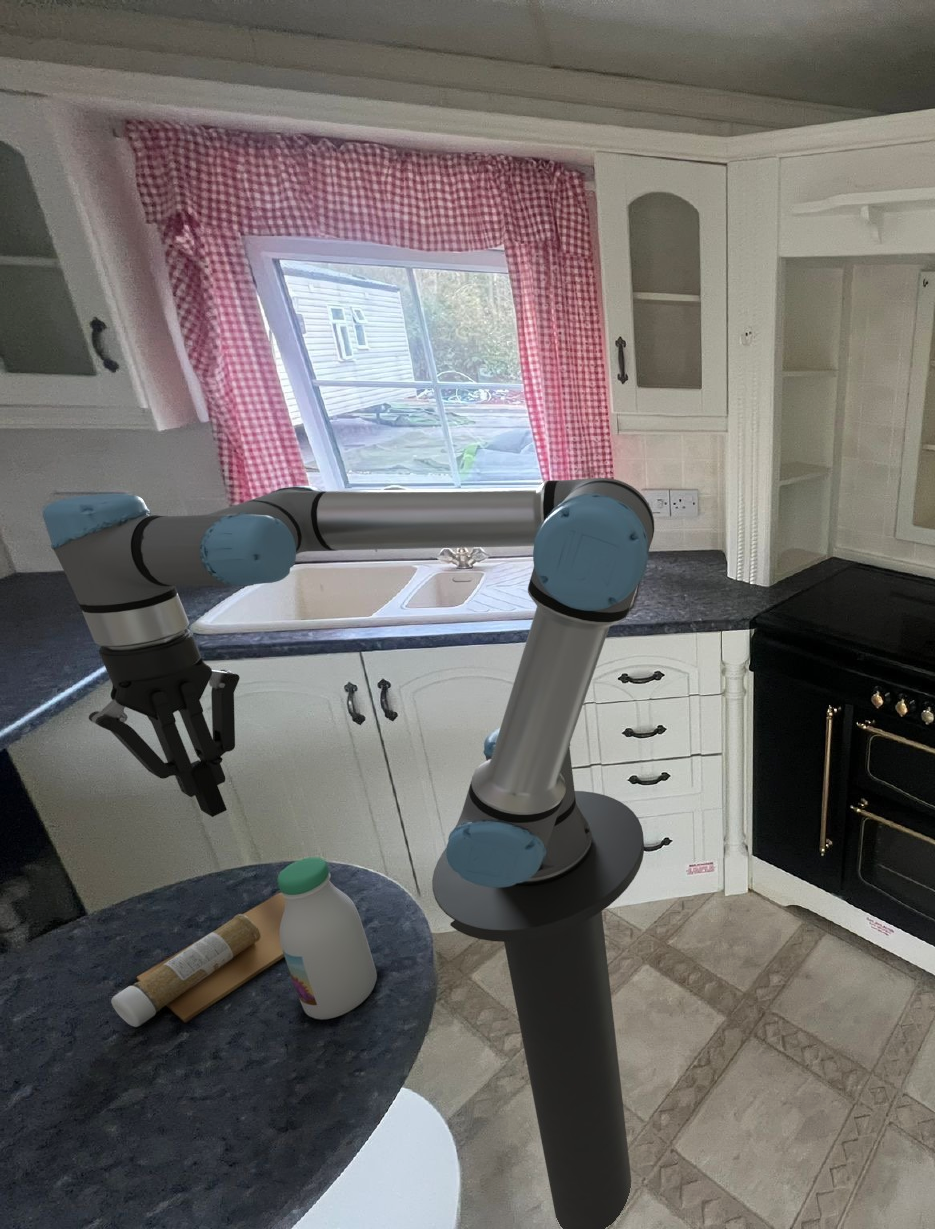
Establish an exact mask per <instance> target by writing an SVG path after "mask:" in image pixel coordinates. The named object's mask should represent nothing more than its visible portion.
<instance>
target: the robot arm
mask: <svg viewBox="0 0 935 1229" xmlns="http://www.w3.org/2000/svg"><path fill="white" fill-rule="evenodd" d="M43 508H44V509H43V510H42V519H43V521H44V524H45V527H46V531H47V533H48V537H49V540H50V543H51V544H50V547H51V550H53V552H54V554H55V555H56V557H57V559H58V562H59V563H60V565H61V567H62V570H63V571H64V574H65V575H66V578H67V580H68V582H69V584H70V586H71V588H72V590H73V594H74V595H75V597H76V600H77V603H78V606H79V608H80V610H81V612H82V614H83V617H84V619H85V622H86V625H87V627H88V630H89V632H90V634H91V637H92V639H93V642H94V643H95V644H96V645H98V646H100V648H99V649H98V654H99V656H100V659H101V660H102V663H103V665H104V668H105V670H106V673H107V675H108V677H109V679H110V682H111V686H112V687H111V691H110V698H111V701H110V702H109V703H108V704H106V705H105V707H104V708H102V709H101V710H100V711H99V710H96V711H92V712H91V713H90V714H89V715H88V721H90V722H92V723H93V724H95V725H97V726H98V727H100V728H103V729H105V730H108V731H110V733H111V734H112V735H113V736H114V737H115V738H116V739H117V740H118V741H119V742H120V743H121V744H122V745H123V746H124V747H125V748H126V750H128V751H129V752H130V754H132V756H134V757H135V759H136V760H137V761H138V762H139V763H140V764H141V765H142V767H144V768H145V769H146V770H147V771H148V773H150V774H152V775H154V776H156V777H157V778H159V779H162V780H163V779H167V778H169V777H173V776H174V777H175V779H176V782H177V784H178V787H179V789H180V791H181V792H182V793H183V794H184V795H186V796H188V797H190V798H193V797H195V798H196V801H197V804H198V806H199V808H200V811H202V812H203V813H205V814H206V815H208V816H210V817H212V818H214V817H216V816H218V815H220V814H222V813H224V812H226V811H228V809H227V806H226V804H225V801H224V799H223V796H222V794H221V793H222V792H221V791H220V788H219V785H221V784H223V783H226V775H225V773H224V770H223V767H222V765H221V763H223V761H224V760H223V755H225V753H227V752H232V751H233V750H234V749H235V748H236V725H235V724H236V723H235V720H236V718H235V691H236V689H237V687H238V684H239V681H240V679H241V678H240V675H239V674H237V673H235V672H233V671H230V670H229V669H220V670H217V669H216V670H215V669H212V667H211V666H210V665H208V664H207V663H205V662H204V660H203V658H202V654H201V651H200V648H199V646H198V643H197V641H196V638H195V635H194V632H193V630H190V629H189V628H188V627H189V626H190V620H189V618H188V616H187V614H186V611H185V608H184V605H183V604H182V601H181V598H180V596H179V593H178V590H177V587H202V586H203V587H207V586H211V587H212V586H234V587H240V586H242V587H252V586H254V585H261V584H272V583H277V582H280V581H282V580H284V579H286V578H287V577H288V576H289V575H290V572H291V569H292V568H293V567H294V566H295V563H296V559H297V555H298V554H300V553H305V552H306V553H307V552H338V551H370V550H372V551H373V550H374V551H375V550H376V551H379V550H417V549H418V550H419V549H421V550H422V549H423V550H424V549H462V548H463V549H466V548H467V549H469V548H470V549H472V548H515V547H516V548H517V547H533V549H532V550H533V551H532V559H533V560H532V561H533V568H532V571H531V575H530V579H529V583H528V586H527V593H528V596H529V597H530V598H531V600H532V601H533V603H534V604H535V605H536V608H535V612H534V615H533V618H532V621H531V624H530V625H531V626H530V628H529V632H528V635H527V638H526V642H525V646H524V648H523V651H522V654H521V658H520V661H519V665H518V668H517V671H516V675H515V678H514V680H513V685H512V689H511V692H510V694H509V698H508V700H507V705H506V707H505V711H504V715H503V718H502V721H501V724H500V727H499V728H496V729H495V730H493V731H492V732H490V733H489V734H488V735H487V737H486V738H485V740H484V742H483V744H484V745H483V747H484V748H483V751H482V753H483V755H484V756H485V761H484V762H482V763H481V764H480V765H479V766H477V768H476V769H474V772H473V775H472V777H471V781H470V784H469V787H468V790H467V793H466V797H465V800H464V804H463V806H462V810H461V813H460V816H459V818H458V819H457V820H458V821H457V823H456V825H455V827H454V828H453V829H452V830H451V831H450V833H449V835H448V839H447V840H448V841H447V844H446V847H445V849H446V858H447V861H448V863H449V865H450V867H451V868H452V869H453V870H454V871H455V872H457V873H459V875H460V877H462V878H463V879H465V880H467V881H469V882H471V883H474V884H477V885H480V886H485V887H494V888H500V887H509V886H513V885H518V886H535V885H541V884H545V883H549V882H552V881H555V880H557V879H560V878H562V877H564V876H566V875H568V874H569V873H571V872H572V871H574V870H575V869H576V868H578V867H579V866H580V865H581V864H582V863H583V862H584V861H585V859H586V858H587V857H588V855H589V853H590V851H591V848H592V834H591V829H590V827H589V824H588V823H587V821H586V819H585V817H584V816H583V814H582V812H581V811H580V809H579V807H578V806H577V804H576V799H575V791H576V790H575V783H574V772H573V765H572V757H571V756H572V755H571V749H570V748H571V741H572V738H573V736H574V733H575V729H576V726H577V723H578V721H579V718H580V715H581V711H582V708H583V706H584V703H585V700H586V697H587V694H588V692H589V689H590V686H591V683H592V680H593V676H594V674H595V670H596V667H597V665H598V663H599V658H600V656H601V653H602V650H603V647H604V645H605V642H606V638H607V636H608V633H609V629H610V627H612V626H614V625H616V624H619V623H621V622H623V621H624V620H626V618H627V616H628V615H629V612H630V609H631V605H632V602H633V600H634V597H635V594H636V591H637V589H638V586H639V583H640V582H641V581H642V579H643V577H644V575H645V572H646V569H647V566H648V561H649V552H650V548H651V545H652V542H653V539H654V535H655V518H654V513H653V511H652V508H651V506H650V504H649V502H648V501H647V499H646V498H645V496H643V494H642V493H641V491H639V490H637V488H635V487H634V486H632V485H631V484H628V483H627V482H624V481H622V480H619V479H616V478H609V477H594V478H593V477H592V478H578V479H562V480H561V479H559V480H557V479H554V480H552V479H551V480H544V482H543V483H542V484H540V486H539V487H538V488H536V487H535V488H468V489H467V488H466V489H465V488H464V489H463V488H462V489H461V488H460V489H457V488H456V489H453V488H452V489H391V490H390V489H383V490H378V489H377V490H376V489H375V490H374V489H373V490H369V489H368V490H327V491H326V490H322V489H320V488H317V487H315V486H311V485H295V486H294V485H293V486H289V487H281V488H278V489H276V490H273V491H270V492H269V493H266V494H263V495H261V496H258V497H255V498H252V499H249V500H247V501H243V502H241V503H237V504H233V505H231V506H229V507H226V508H222V509H220V510H217V511H214V512H210V513H206V514H198V515H196V514H195V515H156V514H155V515H153V514H152V513H151V510H150V509H149V508H148V506H147V505H146V503H145V501H144V500H143V498H142V497H141V496H138V495H135V494H127V493H101V494H91V495H80V496H74V497H68V498H65V499H64V498H63V499H59V500H56V501H52V502H51V503H49V504H47V505H46V506H45V507H43ZM208 684H209V686H210V687H211V692H210V693H211V694H210V695H211V724H212V725H211V726H212V727H211V729H212V730H211V732H212V734H211V732H210V729H209V726H208V723H207V721H206V718H205V715H204V709H203V705H202V703H201V701H200V700H201V699H202V697H203V695H204V693H205V690H206V688H207V687H208ZM125 708H126V709H129V710H131V711H134V712H137V713H139V714H141V715H144V716H146V717H147V719H148V720H149V721H150V723H151V725H152V728H153V729H154V733H155V735H156V737H157V740H158V742H159V745H160V747H161V750H162V752H163V754H164V756H165V759H166V762H164V760H163V759H162V758H161V757H160V756H159V755H158V754H157V753H156V752H155V751H154V750H153V748H151V746H149V744H148V743H147V742H146V741H145V740H144V738H142V737H141V735H140V734H139V733H138V732H137V731H136V730H135V729H134V728H132V726H130V725H129V724H128V723H125V722H127V720H128V715H127V714H126V713H125ZM176 712H179V715H180V717H181V720H182V722H183V724H184V727H185V730H186V732H187V735H188V737H189V740H190V743H191V745H192V747H193V750H194V753H195V756H196V757H197V758H199V759H198V760H195V761H193V762H191V759H190V757H189V755H188V752H187V750H186V747H185V744H184V742H183V739H182V736H181V735H180V732H179V730H178V727H177V724H176V722H177V720H176V718H175V715H174V713H176Z"/></svg>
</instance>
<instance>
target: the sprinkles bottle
mask: <svg viewBox="0 0 935 1229" xmlns="http://www.w3.org/2000/svg"><path fill="white" fill-rule="evenodd" d="M200 939H201V940H200ZM200 939H198V940H199V941H198V940H197V941H198V942H197V941H195V942H196V943H195V942H194V943H195V944H193V943H192V944H193V945H192V944H191V945H192V946H190V945H189V946H190V947H189V948H187V947H186V948H187V949H186V950H184V951H183V952H181V953H180V954H178V955H177V956H175V957H174V958H172V959H171V960H169V961H168V962H166V963H165V964H163V965H162V966H161V967H160V968H158V969H157V970H155V971H154V972H152V973H151V974H149V975H148V976H146V977H145V978H143V979H142V980H140V981H138V982H134V983H133V985H129V986H127V987H126V988H124V989H123V990H121V991H119V992H118V993H116V994H115V995H114V996H113V997H112V998H111V1001H110V1003H111V1005H112V1008H113V1009H114V1010H115V1012H116V1014H117V1015H118V1016H119V1017H120V1018H121V1019H122V1020H123V1021H124V1022H125V1023H126V1024H128V1025H129V1026H131V1027H134V1028H139V1027H140V1026H142V1025H143V1024H144V1023H147V1022H148V1021H149V1020H150V1019H152V1018H153V1017H154V1016H156V1014H157V1013H158V1012H160V1011H161V1009H162V1008H165V1007H166V1005H167V1004H168V1003H169V1002H171V1001H173V1000H174V999H175V998H177V997H178V996H180V995H181V994H182V993H184V992H185V991H186V990H188V989H189V988H191V987H193V986H194V985H196V984H197V983H198V982H200V981H201V980H203V979H204V978H206V977H207V976H208V975H210V974H211V973H213V972H214V971H215V970H217V969H218V968H220V967H221V966H222V965H224V964H225V963H227V962H228V961H230V960H231V959H232V958H233V957H234V956H236V955H237V954H238V953H240V952H241V951H243V950H244V949H246V948H247V947H248V946H250V945H251V944H253V943H255V942H257V941H258V940H259V939H260V931H259V929H258V928H257V926H256V925H255V924H254V923H253V922H252V921H251V920H250V919H249V918H248V917H247V916H245V915H243V913H238V914H236V915H235V916H233V918H232V919H230V920H229V921H227V922H226V923H223V925H221V926H220V927H218V928H217V929H216V930H214V931H212V932H210V933H208V934H207V935H205V936H204V937H202V938H200Z"/></svg>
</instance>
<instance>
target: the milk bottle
mask: <svg viewBox="0 0 935 1229" xmlns="http://www.w3.org/2000/svg"><path fill="white" fill-rule="evenodd" d="M276 880H277V885H278V888H279V891H280V893H281V894H282V896H283V897H284V898H286V906H285V911H284V914H283V917H282V920H281V924H280V943H281V947H282V950H283V954H284V957H283V958H284V959H285V960H284V961H285V963H286V965H287V969H288V971H289V975H290V978H291V979H292V982H293V985H294V988H295V991H296V993H297V996H298V999H299V1002H300V1004H301V1006H302V1009H303V1011H304V1013H305V1014H306V1015H307V1016H308V1017H310V1018H313V1019H315V1020H329V1019H334V1018H338V1017H340V1016H343V1015H345V1014H347V1013H349V1012H351V1011H352V1010H355V1008H357V1007H358V1006H360V1005H361V1004H362V1003H364V1001H365V1000H367V998H368V997H369V996H370V995H371V993H372V991H373V990H374V988H375V985H376V982H377V979H378V972H377V969H376V966H375V962H374V958H373V956H372V955H373V954H372V952H371V948H370V945H369V942H368V938H367V935H366V931H365V928H364V926H363V922H362V919H361V917H360V914H359V911H358V908H357V907H356V905H355V903H354V902H353V900H352V899H351V897H350V896H348V895H347V894H346V893H345V892H343V891H342V890H340V889H339V888H337V887H336V886H335V885H334V884H333V883H332V882H331V881H330V880H331V873H330V870H329V866H328V863H327V861H326V860H325V859H324V858H322V857H318V856H311V857H305V858H301V859H299V860H296V861H294V862H292V863H291V864H288V865H287V866H286V867H285V868H284V869H282V870H281V871H280V872H279V873H278V876H277V879H276Z"/></svg>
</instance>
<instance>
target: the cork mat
mask: <svg viewBox="0 0 935 1229" xmlns="http://www.w3.org/2000/svg"><path fill="white" fill-rule="evenodd" d="M285 906H286V898H284V897H283V896H282V894H281V892H278V893H276V894H275V895H273V896H271V897H269V898H268V899H266V900H265V901H263V902H261V903H260V904H258V905H256V906H254V907H253V908H251V909H249V910H247V911H245V913H242V915H245V916H247V917H248V918H249V919H250V920H251V921H252V922H253V923H254V924H255V925H256V926H257V928H258V929H259V931H260V939H259V940H258V941H257V942H255V943H253V944H251V945H250V946H248V947H247V948H246V949H244V950H243V951H241V952H240V953H238V954H237V955H236V956H234V957H233V958H232V959H231V960H230V961H228V962H227V963H225V964H224V965H222V966H221V967H220V968H218V969H217V970H215V971H214V972H213V973H211V974H210V975H208V976H207V977H206V978H204V979H203V980H201V981H200V982H198V983H197V984H196V985H194V986H193V987H191V988H189V989H188V990H186V991H185V992H184V993H182V994H181V995H180V996H178V997H177V998H175V999H174V1000H173V1001H171V1002H169V1003H168V1004H167V1005H165V1007H166V1008H168V1009H169V1010H170V1011H171V1012H172V1013H174V1014H175V1015H176V1016H177V1017H178V1018H179V1019H180V1020H181V1021H182V1022H183V1023H187V1022H188V1021H190V1020H192V1019H193V1018H195V1017H196V1016H198V1015H199V1014H201V1013H202V1012H204V1011H205V1010H207V1009H208V1008H209V1007H211V1006H212V1005H214V1004H215V1003H217V1002H218V1001H220V1000H221V999H223V998H224V997H226V996H227V995H229V994H230V993H232V992H234V991H235V990H237V989H238V988H240V987H241V986H242V985H244V984H246V983H247V982H248V981H250V980H252V979H253V978H254V977H257V976H258V975H259V974H261V973H262V972H264V971H265V970H266V969H268V968H270V967H271V966H273V965H274V964H275V963H277V962H279V961H280V960H281V959H283V958H285V957H284V954H283V950H282V947H281V943H280V924H281V920H282V917H283V914H284V911H285ZM201 939H202V938H200V939H198V940H197V941H195V942H193V943H191V944H190V945H189V946H187V947H185V948H184V949H182V950H179V951H177V953H175V954H173V955H172V956H170V957H168V958H166V959H165V960H163V961H161V962H159V963H157V964H156V965H154V966H152V967H150V968H149V969H148V970H146V971H144V972H142V973H140V974H139V975H137V976H136V979H137V981H138V982H139V981H140V980H142V979H143V978H145V977H146V976H148V975H149V974H151V973H152V972H154V971H155V970H157V969H158V968H160V967H161V966H162V965H163V964H165V963H166V962H168V961H169V960H171V959H172V958H174V957H175V956H177V955H178V954H180V953H181V952H183V951H184V950H186V949H187V948H189V947H190V946H192V945H193V944H195V943H196V942H198V941H199V940H201Z"/></svg>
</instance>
